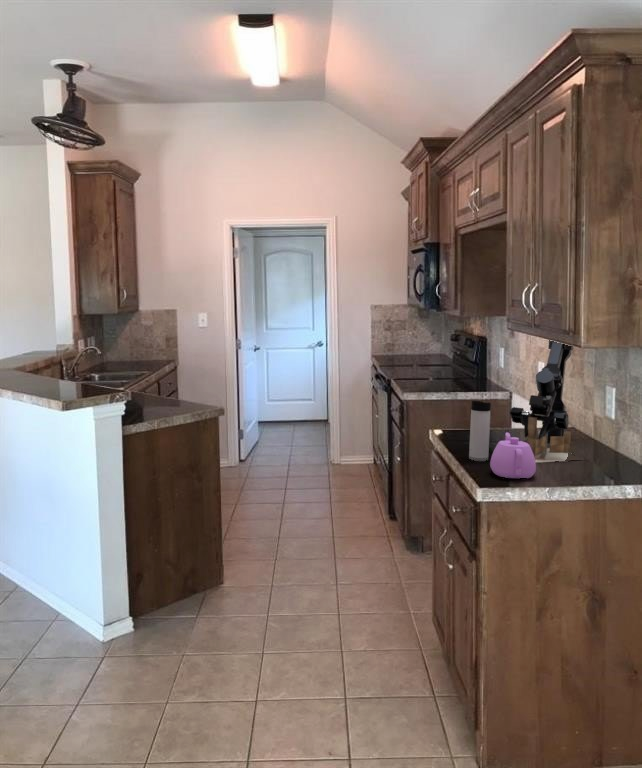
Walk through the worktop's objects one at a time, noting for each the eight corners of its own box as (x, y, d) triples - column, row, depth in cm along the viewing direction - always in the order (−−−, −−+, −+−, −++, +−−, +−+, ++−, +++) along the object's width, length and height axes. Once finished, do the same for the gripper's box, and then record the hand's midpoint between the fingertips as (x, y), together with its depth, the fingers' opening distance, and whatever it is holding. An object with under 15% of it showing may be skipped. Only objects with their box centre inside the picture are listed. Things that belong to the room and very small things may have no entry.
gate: (539, 451, 251) (542, 413, 249) (547, 452, 249) (549, 414, 247) (524, 456, 241) (527, 417, 240) (532, 458, 240) (535, 418, 238)
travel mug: (464, 459, 239) (467, 399, 236) (475, 456, 244) (477, 397, 241) (481, 462, 235) (484, 402, 232) (491, 459, 239) (494, 400, 237)
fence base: (566, 451, 253) (567, 430, 252) (570, 453, 250) (572, 432, 250) (543, 452, 251) (544, 431, 250) (547, 454, 248) (549, 433, 247)
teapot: (542, 484, 210) (544, 444, 208) (495, 482, 210) (497, 443, 209) (525, 467, 230) (527, 431, 228) (483, 466, 230) (485, 430, 229)
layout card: (556, 448, 258) (556, 447, 258) (586, 460, 241) (586, 459, 241) (503, 450, 253) (503, 450, 253) (530, 462, 236) (530, 462, 236)
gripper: (513, 383, 246) (500, 419, 238) (569, 389, 236) (557, 426, 228) (519, 404, 254) (506, 439, 246) (573, 410, 244) (561, 447, 236)
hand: (532, 437), depth 239 cm, fingers open, 4 cm apart
